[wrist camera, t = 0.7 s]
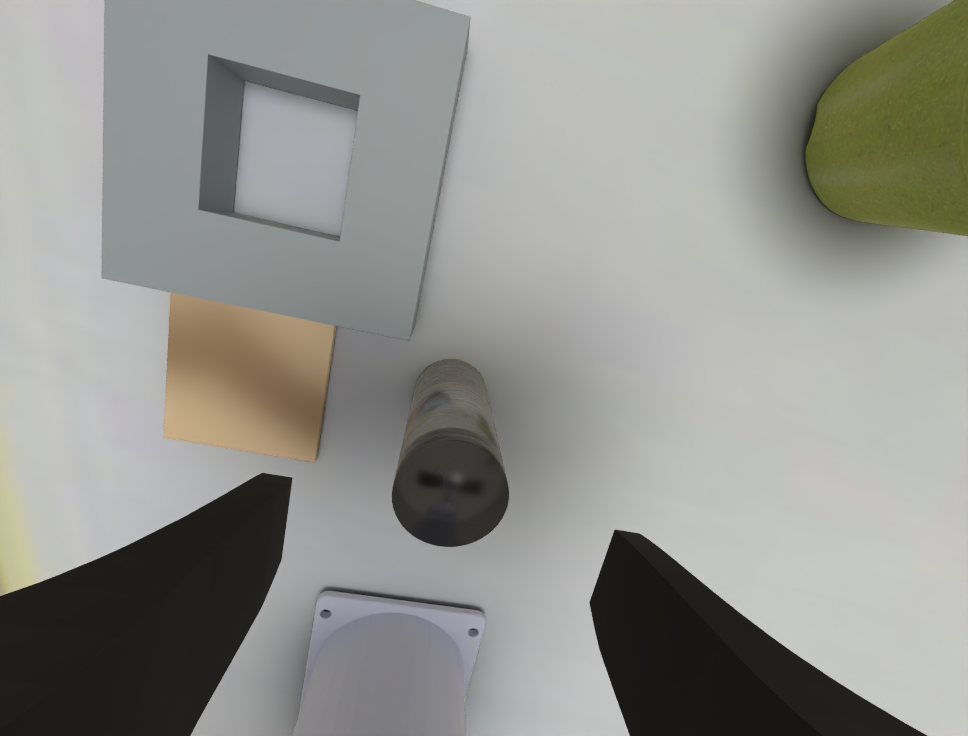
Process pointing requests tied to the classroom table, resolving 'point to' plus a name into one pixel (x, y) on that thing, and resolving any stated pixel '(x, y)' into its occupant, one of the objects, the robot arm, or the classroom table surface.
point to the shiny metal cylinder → (450, 459)
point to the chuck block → (215, 144)
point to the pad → (246, 378)
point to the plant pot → (899, 130)
